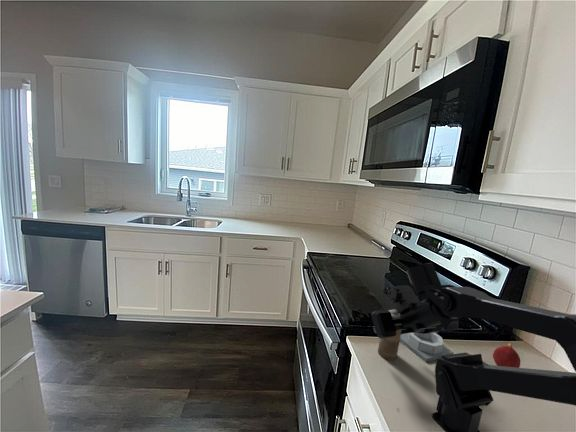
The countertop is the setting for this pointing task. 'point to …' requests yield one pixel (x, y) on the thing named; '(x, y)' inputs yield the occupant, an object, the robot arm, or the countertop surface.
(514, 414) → the countertop surface
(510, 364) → the onion
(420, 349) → the dock
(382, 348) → the mill
